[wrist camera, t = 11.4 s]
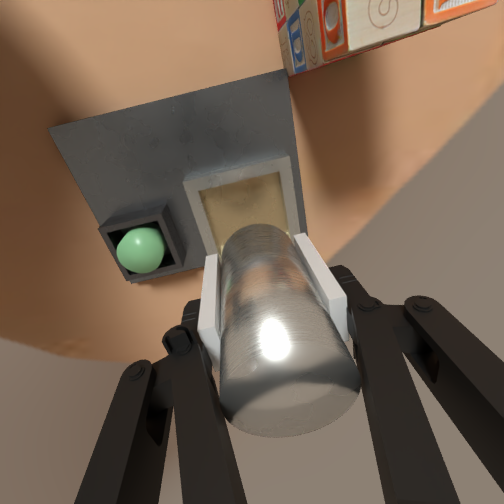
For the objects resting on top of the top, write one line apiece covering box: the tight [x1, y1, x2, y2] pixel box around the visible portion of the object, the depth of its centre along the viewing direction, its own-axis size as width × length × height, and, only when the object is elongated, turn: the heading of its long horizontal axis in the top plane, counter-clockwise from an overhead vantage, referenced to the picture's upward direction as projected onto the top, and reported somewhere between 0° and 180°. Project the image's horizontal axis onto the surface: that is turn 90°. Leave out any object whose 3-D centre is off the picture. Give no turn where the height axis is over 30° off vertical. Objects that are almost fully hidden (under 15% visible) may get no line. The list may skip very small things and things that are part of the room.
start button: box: [117, 222, 168, 273], centre depth 24 cm, size 4×4×3 cm
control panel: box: [47, 68, 308, 284], centre depth 23 cm, size 15×19×4 cm
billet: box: [219, 224, 361, 437], centre depth 14 cm, size 5×5×10 cm
